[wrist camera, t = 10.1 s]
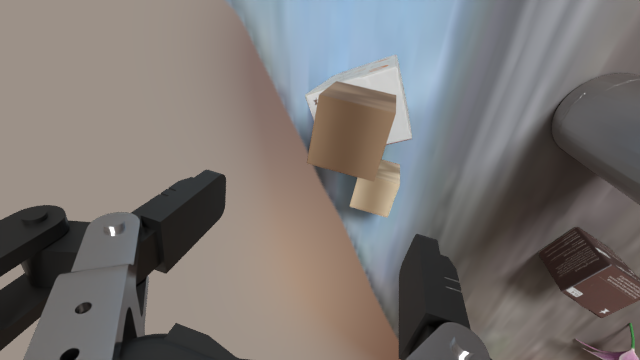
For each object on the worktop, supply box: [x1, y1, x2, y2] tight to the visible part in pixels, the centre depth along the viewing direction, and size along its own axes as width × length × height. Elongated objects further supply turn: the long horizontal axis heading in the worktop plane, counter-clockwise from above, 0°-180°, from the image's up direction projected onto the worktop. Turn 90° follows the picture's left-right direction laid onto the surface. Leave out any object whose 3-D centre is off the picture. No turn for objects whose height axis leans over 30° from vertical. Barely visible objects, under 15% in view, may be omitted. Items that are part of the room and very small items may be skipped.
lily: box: [576, 323, 640, 360], centre depth 40 cm, size 11×11×9 cm
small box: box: [305, 55, 412, 145], centre depth 30 cm, size 8×6×13 cm
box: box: [538, 227, 640, 318], centre depth 36 cm, size 6×6×7 cm
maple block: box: [350, 159, 400, 218], centre depth 38 cm, size 5×5×6 cm
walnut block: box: [307, 81, 396, 182], centre depth 22 cm, size 5×5×6 cm
